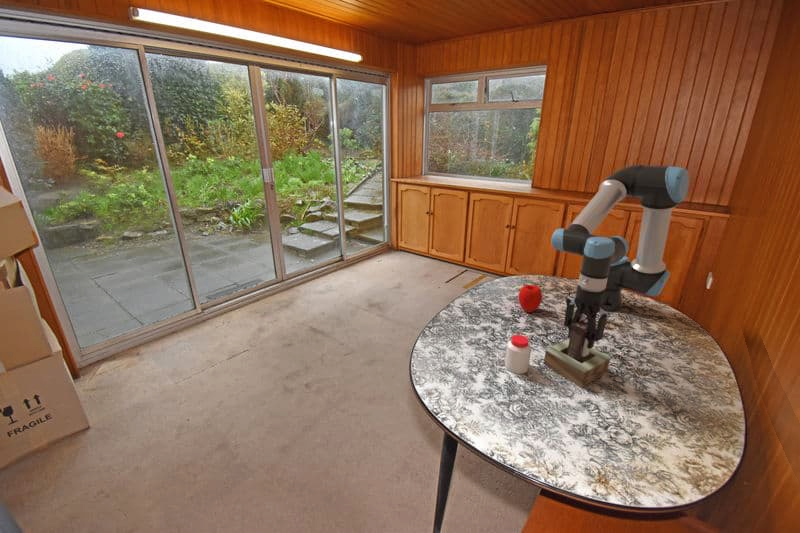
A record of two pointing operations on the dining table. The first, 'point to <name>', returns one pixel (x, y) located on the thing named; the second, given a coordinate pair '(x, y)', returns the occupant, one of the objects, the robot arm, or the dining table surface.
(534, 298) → the apple
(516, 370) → the pill bottle
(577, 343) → the box
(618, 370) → the dining table surface
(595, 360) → the socket block
